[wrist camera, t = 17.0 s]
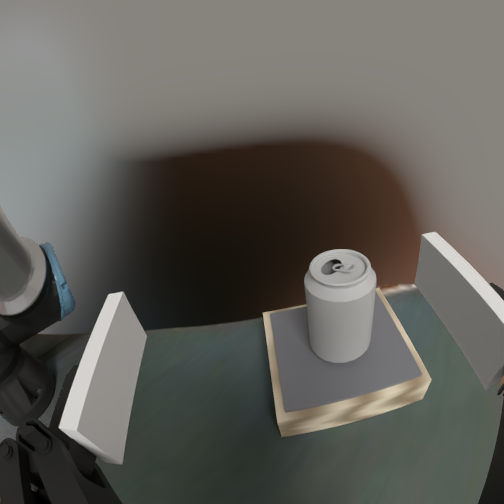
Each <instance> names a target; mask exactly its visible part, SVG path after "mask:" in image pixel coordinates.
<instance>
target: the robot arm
mask: <svg viewBox="0 0 504 504" xmlns="http://www.w3.org/2000/svg"><path fill="white" fill-rule="evenodd" d="M415 285H416V286H417V288H418V289H419V290H420V292H421V293H422V294H423V296H424V297H425V299H426V300H427V301H428V303H429V304H430V305H431V307H432V308H433V309H434V311H435V312H436V314H437V315H438V317H439V318H440V319H441V321H442V322H443V324H444V325H445V327H446V328H447V330H448V331H449V332H450V334H451V335H452V337H453V338H454V340H455V341H456V343H457V344H458V346H459V348H460V349H461V351H462V352H463V354H464V355H465V357H466V359H467V360H468V362H469V363H470V365H471V367H472V368H473V370H474V371H475V373H476V375H477V377H478V378H479V380H480V382H481V383H482V385H483V387H484V389H485V390H486V389H487V388H489V387H491V386H492V385H494V384H496V383H497V382H499V381H500V379H501V378H502V376H503V375H504V291H503V290H502V289H501V288H500V287H498V286H496V285H495V284H493V283H490V284H488V283H487V282H486V281H485V280H484V279H483V278H482V277H481V276H480V274H478V273H477V271H476V270H475V269H474V268H473V267H472V266H471V265H470V264H469V263H468V262H467V261H466V260H465V259H464V258H463V257H462V256H461V255H460V254H459V253H458V252H457V251H455V250H454V249H453V248H452V247H451V246H450V245H449V244H448V243H447V242H446V241H445V240H444V239H443V238H441V237H440V236H439V235H438V234H437V233H436V232H432V233H428V234H423V235H422V240H421V248H420V254H419V261H418V267H417V274H416V279H415ZM74 308H75V301H74V298H73V296H72V293H71V291H70V289H69V287H68V285H67V282H66V279H65V277H64V275H63V272H62V269H61V267H60V265H59V262H58V259H57V257H56V254H55V252H54V249H53V247H52V245H51V244H50V243H45V244H40V245H39V246H38V244H36V243H35V242H34V241H33V240H31V239H29V238H25V237H20V236H19V235H18V233H17V232H16V230H15V229H14V227H13V226H12V224H11V223H10V221H9V220H8V218H7V217H6V215H5V213H4V212H3V210H2V209H1V207H0V415H1V416H2V417H3V418H4V419H5V420H6V421H7V422H9V423H10V424H12V425H14V426H19V427H18V429H17V433H16V441H15V440H13V439H11V438H6V439H5V440H3V441H2V442H1V443H0V500H1V504H122V503H121V501H120V500H119V498H118V497H117V495H116V494H115V492H114V490H113V489H112V487H111V486H110V484H109V482H108V481H107V479H106V478H105V476H104V474H103V472H102V471H101V469H100V467H99V466H98V465H97V464H96V463H95V461H96V457H98V458H99V459H101V460H102V461H104V462H105V463H113V464H122V463H123V456H124V449H125V443H126V437H127V431H128V425H129V419H130V413H131V408H132V403H133V398H134V392H135V387H136V383H137V378H138V373H139V369H140V364H141V360H142V355H143V351H144V346H145V342H146V338H147V335H146V333H145V332H144V330H143V328H142V326H141V325H140V323H139V321H138V319H137V317H136V315H135V313H134V312H133V310H132V308H131V306H130V304H129V302H128V300H127V298H126V296H125V294H124V292H119V293H113V294H109V295H108V297H107V299H106V301H105V303H104V306H103V308H102V310H101V312H100V315H99V317H98V319H97V322H96V324H95V327H94V329H93V331H92V334H91V336H90V339H89V341H88V344H87V346H86V349H85V351H84V354H83V357H82V359H81V362H80V365H79V366H73V368H72V369H71V370H70V372H69V373H68V374H67V376H66V378H65V381H64V384H63V386H62V387H63V389H61V392H60V395H59V396H60V398H58V401H57V404H56V407H55V410H54V413H53V416H52V419H51V422H50V426H49V428H47V427H46V426H45V425H44V424H43V423H42V422H40V421H39V420H38V419H37V418H38V417H39V416H40V415H41V414H42V413H43V412H44V411H45V410H46V408H47V407H48V405H49V403H50V401H51V399H52V396H53V393H54V388H55V379H54V375H53V373H52V372H51V370H50V369H49V368H48V367H47V366H46V364H45V363H44V362H42V361H41V360H39V359H37V358H36V357H35V356H33V355H32V354H30V353H29V352H27V351H26V350H24V349H23V348H22V347H21V346H20V345H19V344H21V343H22V342H24V341H26V340H27V339H29V338H30V337H32V336H34V335H35V334H37V333H39V332H40V331H42V330H44V329H45V328H47V327H49V326H50V325H52V324H54V323H55V322H57V321H61V320H62V319H63V318H64V317H65V316H67V315H68V314H70V313H71V312H72V311H73V310H74ZM503 390H504V384H503V385H502V386H501V388H500V389H499V391H498V394H497V395H500V394H501V392H502V391H503ZM503 396H504V394H503ZM30 483H31V484H32V485H34V488H35V489H34V491H32V490H31V485H30ZM478 504H504V400H503V407H502V414H501V420H500V426H499V431H498V436H497V441H496V445H495V450H494V454H493V458H492V462H491V465H490V469H489V472H488V476H487V479H486V482H485V485H484V488H483V491H482V494H481V497H480V500H479V503H478Z"/></svg>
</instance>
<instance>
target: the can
mask: <svg viewBox="0 0 504 504" xmlns="http://www.w3.org/2000/svg"><path fill="white" fill-rule="evenodd" d="M304 284H305V294H306V304H307V314H308V325H309V337H310V344H311V348H312V350H313V351H314V352H315V354H316V355H317V356H319V357H320V358H322V359H324V360H326V361H329V362H333V363H345V362H349V361H352V360H355V359H357V358H358V357H360V356H362V355H363V354H364V352H365V351H366V350H367V349H368V346H369V344H370V339H371V331H372V322H373V313H374V303H375V291H376V275H375V272H374V271H373V269H372V268H371V266H370V262H369V260H368V259H367V258H366V257H365V256H364V255H362V254H361V253H359V252H356V251H353V250H346V249H336V250H331V251H326V252H324V253H322V254H320V255H318V256H317V257H316V258H314V259H313V260H312V262H311V263H310V268H309V270H308V272H307V273H306V275H305V280H304Z"/></svg>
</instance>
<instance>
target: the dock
mask: <svg viewBox="0 0 504 504" xmlns="http://www.w3.org/2000/svg"><path fill="white" fill-rule="evenodd" d="M263 318H264V326H265V333H266V341H267V348H268V356H269V363H270V371H271V378H272V386H273V394H274V401H275V409H276V416H277V423H278V426H279V430H280V433H281V436H282V437H287V436H293V435H298V434H304V433H309V432H313V431H318V430H323V429H327V428H331V427H336V426H340V425H344V424H347V423H351V422H355V421H358V420H362V419H365V418H369V417H372V416H375V415H379V414H382V413H385V412H388V411H391V410H394V409H397V408H400V407H402V406H405V405H408V404H411V403H413V402H416V401H419V400H421V399H423V397H424V395H425V393H426V391H427V388H428V386H429V384H430V382H431V378H430V376H429V374H428V372H427V370H426V368H425V366H424V364H423V363H422V361H421V359H420V357H419V355H418V353H417V352H416V350H415V348H414V346H413V344H412V343H411V341H410V339H409V337H408V336H407V334H406V332H405V330H404V329H403V327H402V325H401V323H400V322H399V320H398V318H397V317H396V315H395V313H394V312H393V310H392V308H391V307H390V305H389V303H388V302H387V300H386V298H385V297H384V295H383V294H382V292H381V290H380V289H379V288H376V291H375V303H374V313H373V322H372V331H371V339H370V344H369V346H368V349H367V350H366V351H365V352H364V354H363V355H362V356H360V357H358V358H357V359H355V360H352V361H349V362H345V363H333V362H329V361H326V360H324V359H322V358H320V357H319V356H317V355H316V354H315V352H314V351H313V350H312V348H311V344H310V337H309V325H308V314H307V304H305V305H300V306H295V307H290V308H285V309H280V310H276V311H270V312H265V313H263Z"/></svg>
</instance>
